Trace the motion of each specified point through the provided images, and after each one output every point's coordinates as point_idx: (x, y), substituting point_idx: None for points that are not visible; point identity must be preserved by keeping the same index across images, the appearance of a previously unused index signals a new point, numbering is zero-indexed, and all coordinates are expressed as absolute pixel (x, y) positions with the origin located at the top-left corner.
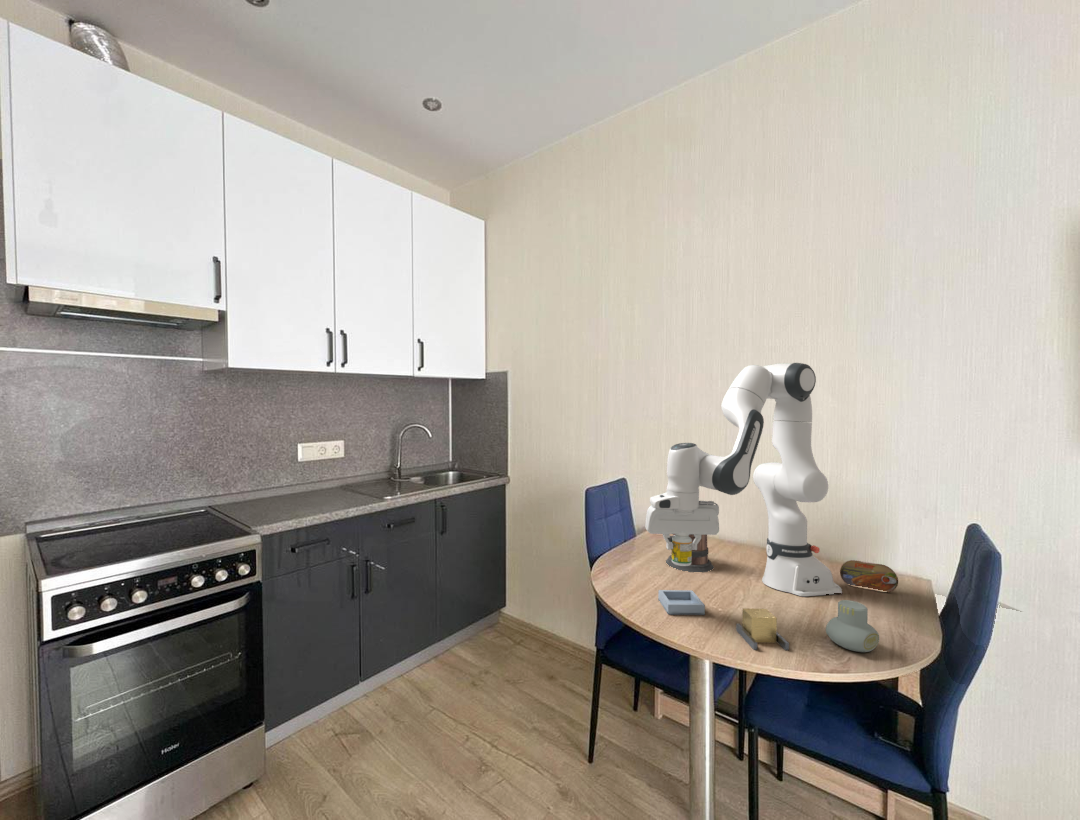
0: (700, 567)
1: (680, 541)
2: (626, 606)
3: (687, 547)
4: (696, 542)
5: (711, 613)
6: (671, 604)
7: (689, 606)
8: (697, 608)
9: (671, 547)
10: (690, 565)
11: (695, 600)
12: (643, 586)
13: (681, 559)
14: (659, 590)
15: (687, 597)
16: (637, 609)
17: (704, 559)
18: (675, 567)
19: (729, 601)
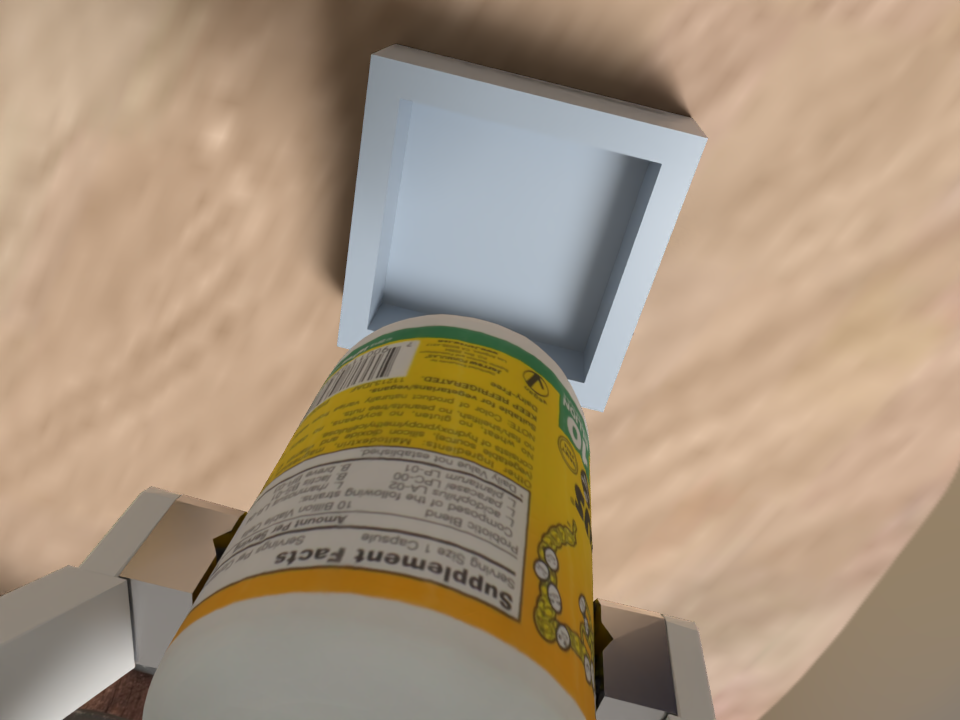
0: None
1: (504, 676)
2: (905, 336)
3: (362, 504)
4: (70, 599)
5: (316, 78)
6: (676, 132)
7: (512, 87)
8: (443, 66)
9: (636, 634)
10: None
11: (389, 201)
12: None
13: (517, 384)
14: (600, 403)
15: (397, 313)
16: (859, 273)
17: None
18: None
19: (96, 239)
